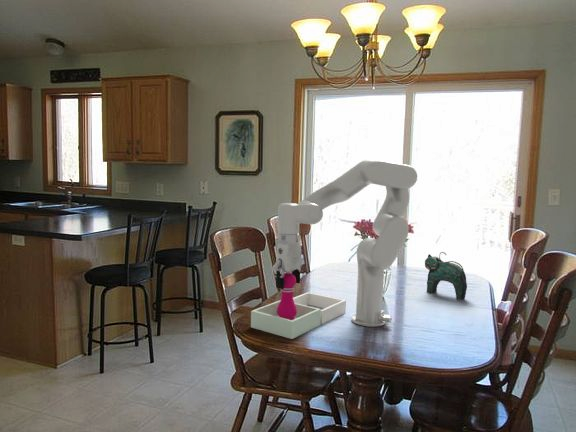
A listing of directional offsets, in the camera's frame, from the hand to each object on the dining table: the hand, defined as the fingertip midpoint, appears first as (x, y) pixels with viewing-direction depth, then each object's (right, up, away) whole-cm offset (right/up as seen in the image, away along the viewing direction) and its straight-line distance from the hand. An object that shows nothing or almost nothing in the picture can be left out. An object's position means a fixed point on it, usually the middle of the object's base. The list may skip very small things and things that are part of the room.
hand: (288, 285), depth 167 cm
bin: (-1, -15, +2) cm, 15 cm away
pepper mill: (-1, -14, +2) cm, 14 cm away
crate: (+10, -14, +17) cm, 24 cm away
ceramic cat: (+72, -12, +49) cm, 88 cm away
